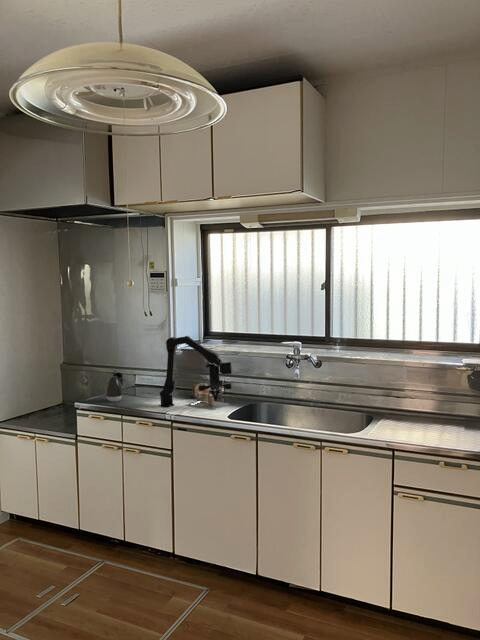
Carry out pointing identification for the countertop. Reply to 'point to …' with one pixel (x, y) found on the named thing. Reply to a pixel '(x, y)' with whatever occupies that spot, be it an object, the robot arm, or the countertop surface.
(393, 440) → the countertop surface
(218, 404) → the card
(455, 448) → the countertop surface
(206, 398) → the fence fixed
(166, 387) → the robot arm
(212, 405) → the fence gate
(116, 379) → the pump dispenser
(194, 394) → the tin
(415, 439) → the countertop surface
